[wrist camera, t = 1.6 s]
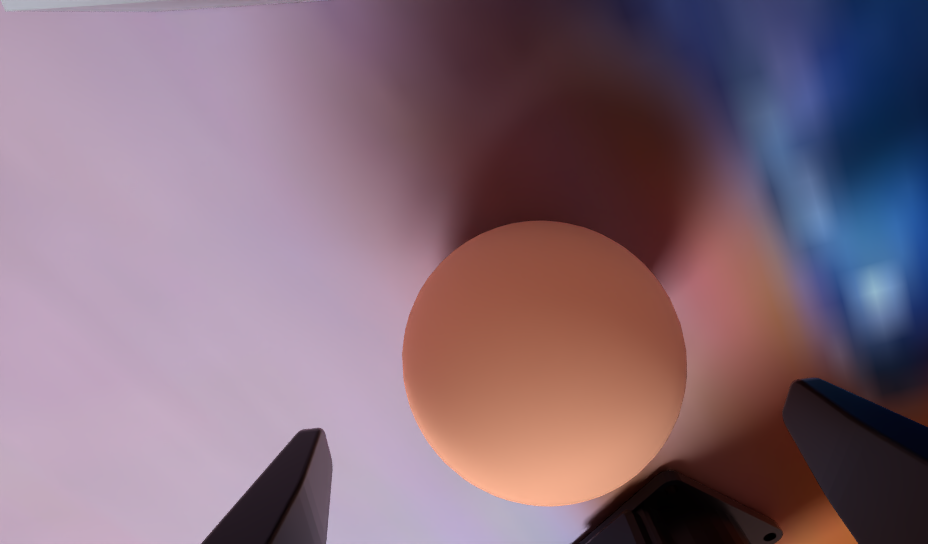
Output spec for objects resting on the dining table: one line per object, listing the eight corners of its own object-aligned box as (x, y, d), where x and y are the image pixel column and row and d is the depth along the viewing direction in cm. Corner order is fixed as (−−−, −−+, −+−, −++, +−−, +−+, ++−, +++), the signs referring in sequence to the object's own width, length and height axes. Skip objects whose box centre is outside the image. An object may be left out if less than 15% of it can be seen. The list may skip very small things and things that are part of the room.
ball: (667, 258, 14) (826, 417, 8) (533, 403, 16) (591, 604, 10) (491, 136, 12) (552, 240, 6) (364, 319, 14) (330, 514, 8)
